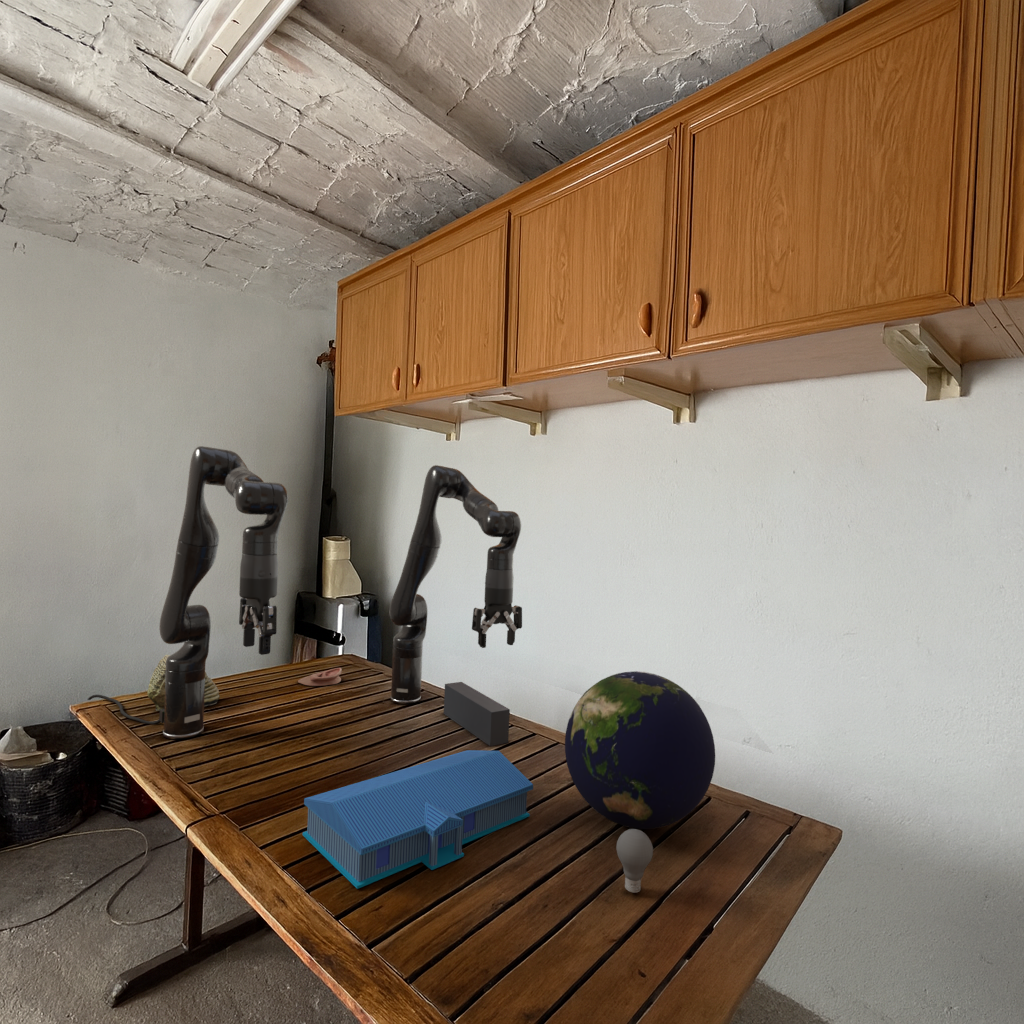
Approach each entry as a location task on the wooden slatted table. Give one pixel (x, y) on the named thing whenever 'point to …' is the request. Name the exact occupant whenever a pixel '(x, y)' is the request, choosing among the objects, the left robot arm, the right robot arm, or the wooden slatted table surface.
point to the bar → (477, 713)
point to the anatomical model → (322, 678)
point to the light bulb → (634, 857)
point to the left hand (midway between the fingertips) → (256, 650)
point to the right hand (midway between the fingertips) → (496, 645)
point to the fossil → (158, 687)
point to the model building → (416, 814)
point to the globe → (640, 750)
